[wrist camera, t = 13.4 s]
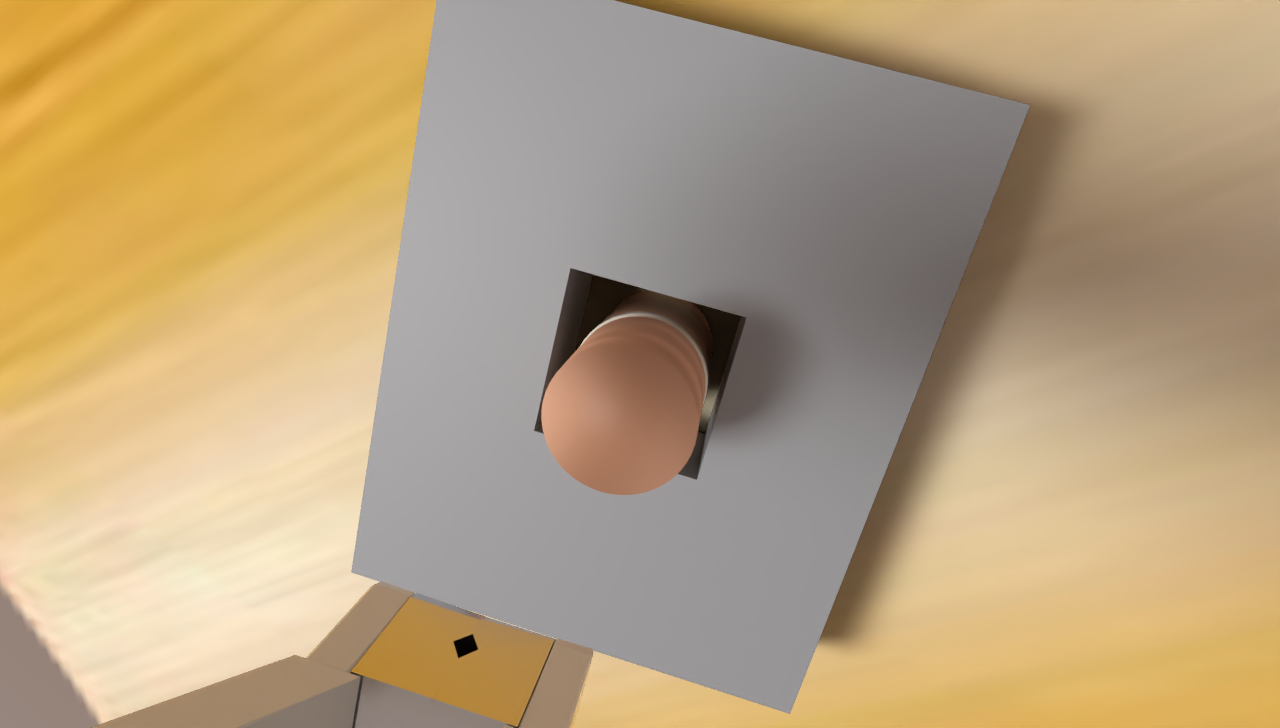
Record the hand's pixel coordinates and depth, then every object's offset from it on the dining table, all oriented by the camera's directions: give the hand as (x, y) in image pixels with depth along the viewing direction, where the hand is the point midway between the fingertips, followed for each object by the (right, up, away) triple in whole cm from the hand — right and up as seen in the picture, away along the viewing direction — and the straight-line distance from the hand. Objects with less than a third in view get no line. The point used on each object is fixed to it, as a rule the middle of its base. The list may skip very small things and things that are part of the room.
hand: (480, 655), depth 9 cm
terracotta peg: (+3, +5, +16) cm, 17 cm away
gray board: (+3, +5, +16) cm, 17 cm away
